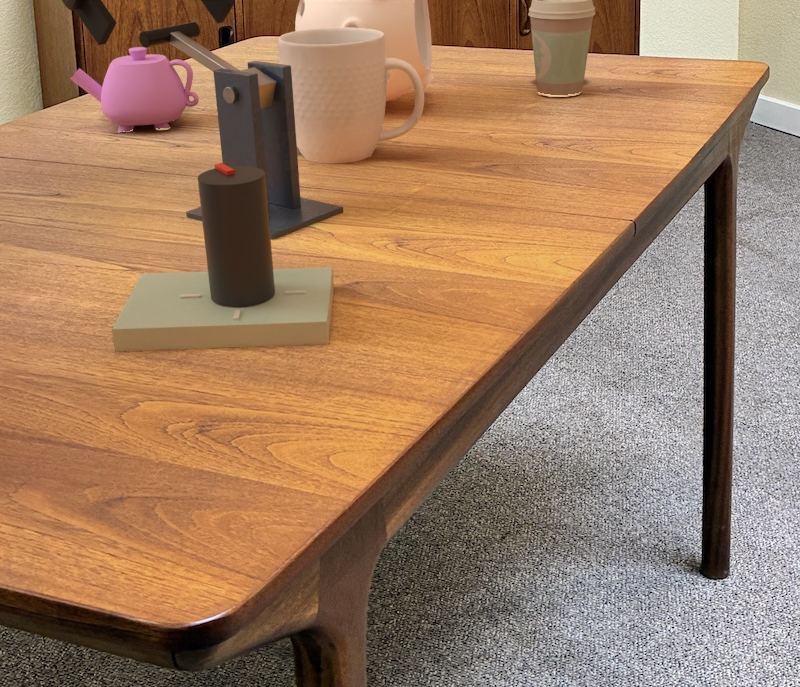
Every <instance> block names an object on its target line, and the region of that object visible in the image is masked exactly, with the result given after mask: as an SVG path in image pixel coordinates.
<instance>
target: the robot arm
mask: <svg viewBox="0 0 800 687" xmlns="http://www.w3.org/2000/svg"><path fill="white" fill-rule="evenodd" d="M61 1H62V3H63V4H64V6H65V7H66V8H67V9H68V10H70V11H75V13H76V14H77V16H78V17H79V19H80V20H81V22H82V23H83V24H84V26H85V27H86V29H87V30H88V32H89V33H90V35H91V36H92V38H93V39H94V40H95V42H96V44H97V45H98V46H101V45H106V44H107V42H108V40H109V39H110V37H111V35H112V33H113V30H114V29H115V27H116V25H117V21H116V19H115V18H114V17H113V15H112V14H111V12H110V11H109V9H108V8H107V7H106V5H105V3H104V2H103V1H102V0H61ZM200 1H201V3H202V4H203V6H204V7H205V8H206V9H207V11H208V13H209V14H210V15H211V17H212V18H213V20H214V21H215V22H216V24H221V23H224V21H225V20H226V19H227V17H228V15H229V14H230V12H231V10H232V8H233V7H234V6H235V3H236V2H235V0H200Z"/></svg>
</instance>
